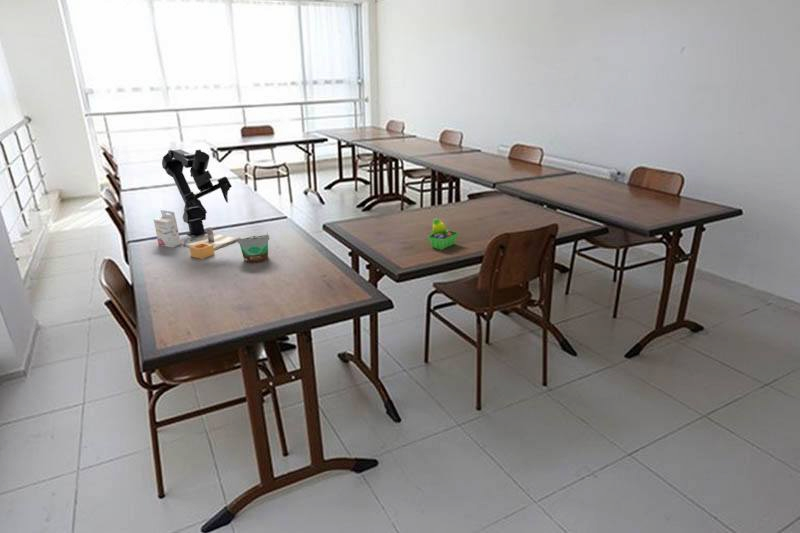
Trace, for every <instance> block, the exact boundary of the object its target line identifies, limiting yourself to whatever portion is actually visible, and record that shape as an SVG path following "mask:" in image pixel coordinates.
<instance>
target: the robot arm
mask: <svg viewBox="0 0 800 533" xmlns="http://www.w3.org/2000/svg"><path fill="white" fill-rule="evenodd" d="M161 160H162V161H161V165H162V166H161V167H162V168H163V169H164V171H165V172H166V175H168V176H170V177H171V178H172V180H173V181H174V183H175V185H176V187H177V189H178V191H179V194H180V196H181V198H182V200H183V202H184V207H183V214H182V220H183V222H184V223H186V224H188V231H189V232H187V233H186V235H189V236H193V237H197V236H200V235H201V236H202V235H204V234H207V230H205V228H204V222H203V221H206V219H207V213H208V211H207V210H206V208H205V207H204V205H203V204H202V202H201V200H200V199H199V198H202V197H204V196H206V195H209V194H210V193H213V192H215V191H217V190H219V189H220V191H221V193H222V195H223V198H224V200H225V202H226V204H228V203H229V201H228V200H229V199H228V193H229V190H230V189H231V188H232V187H233V186H232V184H231V182H230V180H229V179H228V177H227V176H222V177H221V178H218V179H217V182H218V183H217V184H213V183H212V181H211V179H213V176H212V175H211V172H210V171H209V170H207V169H208V165H209V162H210V155H209V154H208V153H206V152H205V151H202V150H201V149H195V152H187V151H185V150H182V149H181V148H179V147H177V148H169V149H168V151H167V153H166V154H165V155H164V156H163V157H162V159H161ZM184 168H185V169H190V170H189V173H190V177H191V178H193V182H194V183H195V185H196V188H197V189H198V192H196V193H194V192H193V191H192V190H191V188H190V185H189V183H188V181H187V178H186V177H185V175H184V172H183V171H184Z"/></svg>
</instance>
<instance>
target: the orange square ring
mask: <svg viewBox="0 0 800 533" xmlns="http://www.w3.org/2000/svg"><path fill="white" fill-rule="evenodd" d="M189 251H190V252H189V253H190V256H191V258H192V257H193V258H196V259H199V260H200V259H201V260H203V259H205V258H209V257H211V256H213V255H215V250H214V248H213V245H211V244H207V243H203V242H202V243H200V244H197V245H194V246H191V247H189Z"/></svg>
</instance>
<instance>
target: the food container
mask: <svg viewBox="0 0 800 533" xmlns="http://www.w3.org/2000/svg"><path fill="white" fill-rule="evenodd" d="M237 238H238V241H237V244H238V245H239V247H240V249H241V254H242V257H243V261H244V262H245V263H248V264H258V263H262V262H266V261H267V260H268V259H269V240H270V238H271V237H270V235H269V234H268V232H267V233H266V234H264V235H263V234H262V235H253V236H248V237H246V238H240V237H237Z"/></svg>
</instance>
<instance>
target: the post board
mask: <svg viewBox="0 0 800 533" xmlns="http://www.w3.org/2000/svg"><path fill="white" fill-rule="evenodd" d="M205 231H207V233H206V234H207V235H204V236H202V237H198V238H195V239H193V240H189V241H187V242H184V243H183V246H185V247H188V248H190V247H191V246H194V245H197V244H200V243H202V242H203V243H207V244H211V245H213V248H214V251H215V250H217V249H220V247H221V248H223V247H225V245H226V246H229V245H231V244H234V243H236V242H238V237H234V236H233V237H232V236H227V235H224V234H219V233H215V232H214V231H213V228H212V227H211V226H210V227H209V226H208V227H206V229H205Z"/></svg>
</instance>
